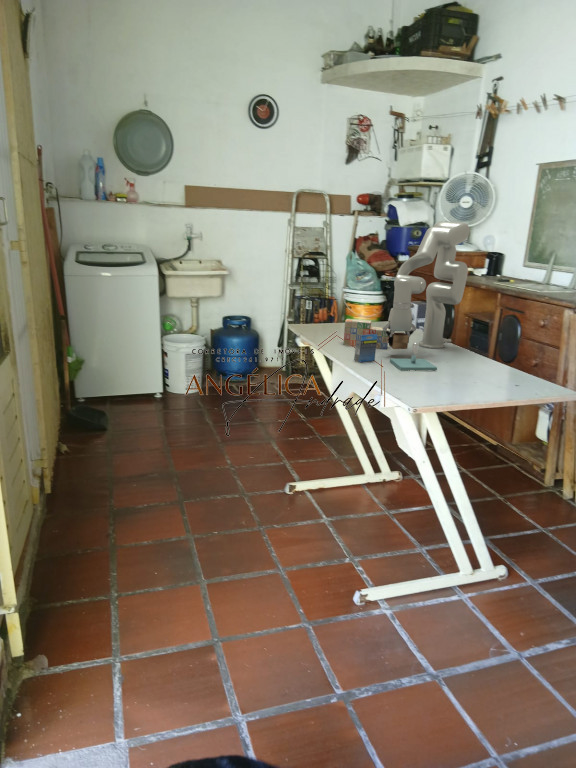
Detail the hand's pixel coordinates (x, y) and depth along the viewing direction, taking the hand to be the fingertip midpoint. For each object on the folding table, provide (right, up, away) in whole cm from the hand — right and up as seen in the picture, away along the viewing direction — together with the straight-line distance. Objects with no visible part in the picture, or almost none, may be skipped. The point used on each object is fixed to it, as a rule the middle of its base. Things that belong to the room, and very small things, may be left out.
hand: (398, 344), depth 253 cm
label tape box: (-17, -8, -8) cm, 20 cm away
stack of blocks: (-12, 0, +19) cm, 23 cm away
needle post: (+4, -9, -14) cm, 17 cm away
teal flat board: (+4, -10, -14) cm, 17 cm away
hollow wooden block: (0, -1, 0) cm, 1 cm away
